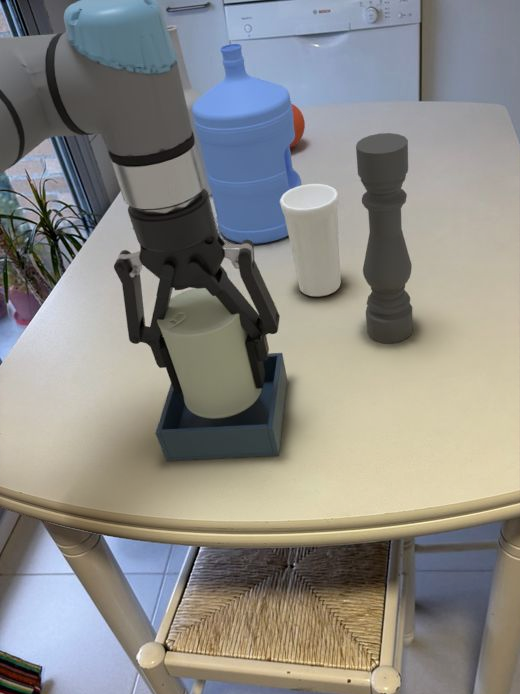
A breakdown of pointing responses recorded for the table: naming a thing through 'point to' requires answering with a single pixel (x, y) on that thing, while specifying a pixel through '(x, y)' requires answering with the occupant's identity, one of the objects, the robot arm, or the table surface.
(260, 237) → the water jug
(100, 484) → the table surface
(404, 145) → the candle holder
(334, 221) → the cup
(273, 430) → the box
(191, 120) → the bottle
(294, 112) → the tomato
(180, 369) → the can
